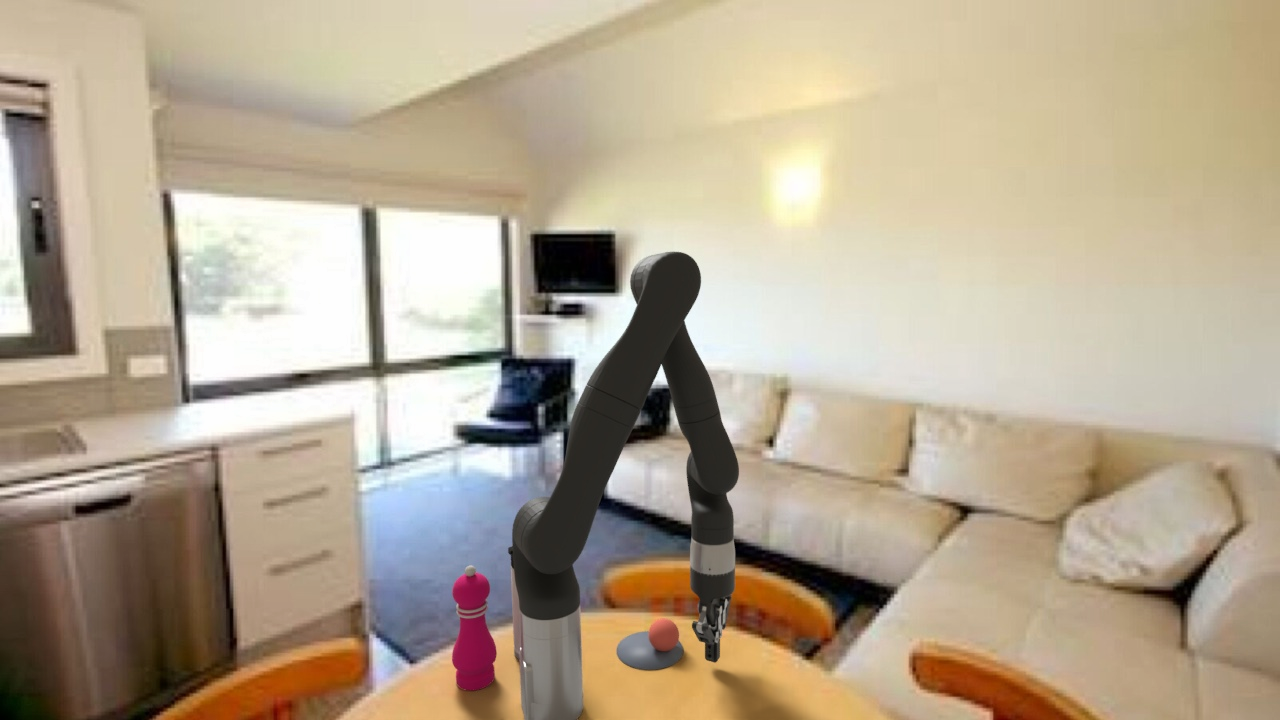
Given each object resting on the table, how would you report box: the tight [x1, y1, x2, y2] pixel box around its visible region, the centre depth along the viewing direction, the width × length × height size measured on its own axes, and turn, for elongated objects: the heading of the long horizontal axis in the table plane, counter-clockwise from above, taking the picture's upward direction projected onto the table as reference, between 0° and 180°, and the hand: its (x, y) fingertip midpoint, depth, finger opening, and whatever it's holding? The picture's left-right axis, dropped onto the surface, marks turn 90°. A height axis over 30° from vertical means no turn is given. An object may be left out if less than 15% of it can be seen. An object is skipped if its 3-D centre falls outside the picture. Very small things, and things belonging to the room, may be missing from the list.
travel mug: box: [507, 545, 521, 660], centre depth 115 cm, size 6×7×20 cm
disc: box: [615, 630, 684, 671], centre depth 117 cm, size 12×12×1 cm
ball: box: [648, 618, 680, 652], centre depth 116 cm, size 6×6×6 cm
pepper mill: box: [451, 565, 497, 692], centre depth 107 cm, size 7×7×20 cm
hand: (712, 659), depth 111 cm, fingers closed
